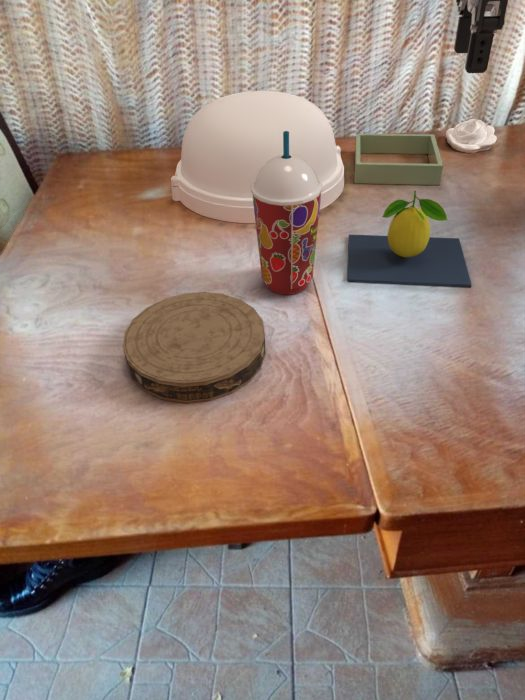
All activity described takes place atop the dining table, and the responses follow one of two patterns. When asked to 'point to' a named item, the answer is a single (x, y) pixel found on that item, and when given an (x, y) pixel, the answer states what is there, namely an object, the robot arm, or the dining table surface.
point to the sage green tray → (398, 171)
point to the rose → (471, 136)
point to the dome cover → (251, 151)
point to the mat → (407, 263)
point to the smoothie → (286, 220)
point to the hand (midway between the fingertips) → (468, 61)
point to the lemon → (411, 225)
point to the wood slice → (195, 347)
